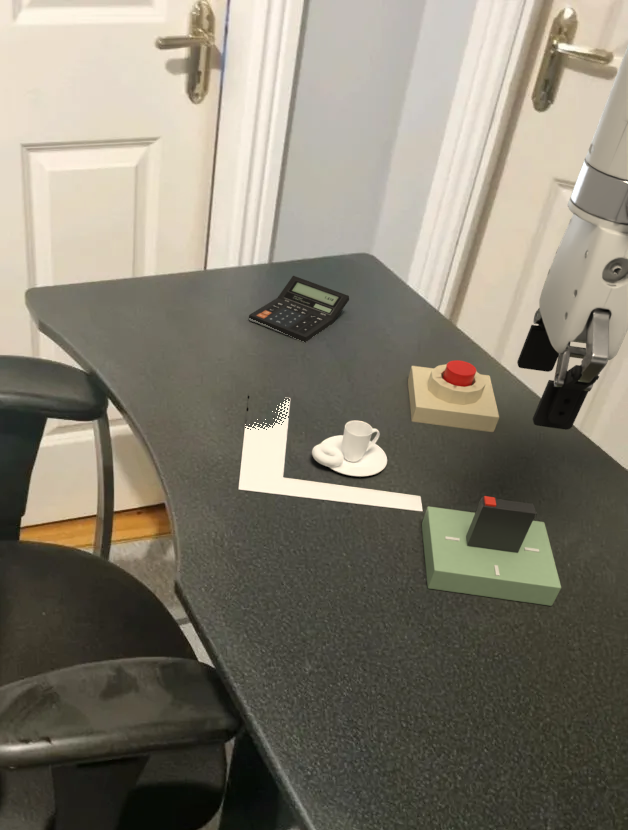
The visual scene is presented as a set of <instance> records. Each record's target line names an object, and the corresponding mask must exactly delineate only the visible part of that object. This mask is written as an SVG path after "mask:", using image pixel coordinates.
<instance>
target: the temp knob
mask: <svg viewBox="0 0 628 830" xmlns="http://www.w3.org/2000/svg"><path fill="white" fill-rule="evenodd" d="M474 513H475V515H474V517H473V520H472V522H471V525H470V527H469V530H468V533H467V535H466V539H467V545H468V546H473V547H481V548H488V549H495V550H502V551H509V552H517V553H518V552H519V550H520V548H521V545H522V543H523V541H524V539H525V537H526V534H527V532H528V530H529V528H530V526H531V524H532V521H534V519H535V517H536V515H537V511H536V507H535V504H534V503H528V502H522V501H521V502H520V501H514V500H505V499H499V498H496V497H495V496H494V497H493V496H487V495H484V496H481V497H480V500H479V502H478V505H477V508H476V509H475V512H474Z"/></svg>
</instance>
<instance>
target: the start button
mask: <svg viewBox="0 0 628 830" xmlns="http://www.w3.org/2000/svg"><path fill="white" fill-rule="evenodd" d="M446 364H447V365H446V369H445V372H444V375H443V379H444V380H445V381H446V382H447V383H450V384H452V385H455V386H461V387H467V386H471V385H472V383H473V380H474V377H475V374H476V371H477V368H476V367H475V366H474V365H473V364H472V363H470V362H468V361H465V360H450V361H448V362H447V363H446Z"/></svg>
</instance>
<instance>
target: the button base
mask: <svg viewBox="0 0 628 830" xmlns="http://www.w3.org/2000/svg"><path fill="white" fill-rule="evenodd" d="M446 365H447V363H446V364H445V363H444V364H439V365H437V366H435V367H434V368H432V367H425V366H419V365H418V366H417V365H411V367H410V370H409V373H408V377H407V387H408V397H409V399H408V400H409V408H410V409H409V410H410V418H411V419H410V420H411V422H412V423H420V424H428V425H434V426H435V425H436V426H442V427H450V428H458V429H466V430H472V431H473V430H474V431H481V432H487V433H488V432H489V433H495V431H496V428H497V425H498V423H499V419H500V413H499V410H498V406H497V401H496V397H495V393H494V388H493V384H492V379H491V376H490V375H488V374H481V373H479V372H478V371H477V370H476V374H475V377H474V380H473V383H472V385H471V386H467V387H461V386H455V385H452V384H450V383H447V382H446V381H445V380H444V379H443V375H444V372H445V369H446Z"/></svg>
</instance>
